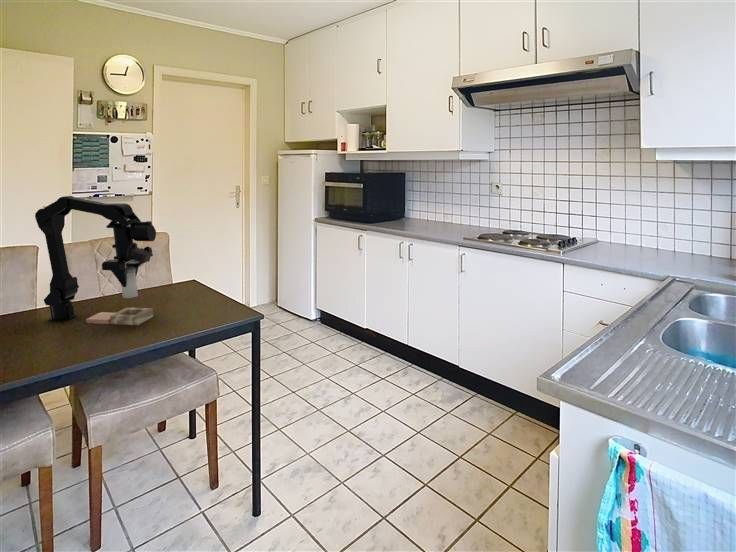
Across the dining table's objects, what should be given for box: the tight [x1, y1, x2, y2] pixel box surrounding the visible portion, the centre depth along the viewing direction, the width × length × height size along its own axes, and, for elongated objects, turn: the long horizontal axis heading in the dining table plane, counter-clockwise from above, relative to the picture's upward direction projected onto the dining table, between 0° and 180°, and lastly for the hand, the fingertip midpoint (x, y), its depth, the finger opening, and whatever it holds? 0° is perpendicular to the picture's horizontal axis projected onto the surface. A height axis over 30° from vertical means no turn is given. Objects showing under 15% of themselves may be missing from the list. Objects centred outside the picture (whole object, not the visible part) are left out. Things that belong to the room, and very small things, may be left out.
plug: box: [120, 267, 139, 299], centre depth 169 cm, size 5×5×10 cm
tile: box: [85, 311, 116, 325], centre depth 172 cm, size 8×8×2 cm
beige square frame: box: [110, 307, 154, 326], centre depth 172 cm, size 10×10×3 cm
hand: (128, 284), depth 170 cm, fingers closed on plug, 5 cm apart
